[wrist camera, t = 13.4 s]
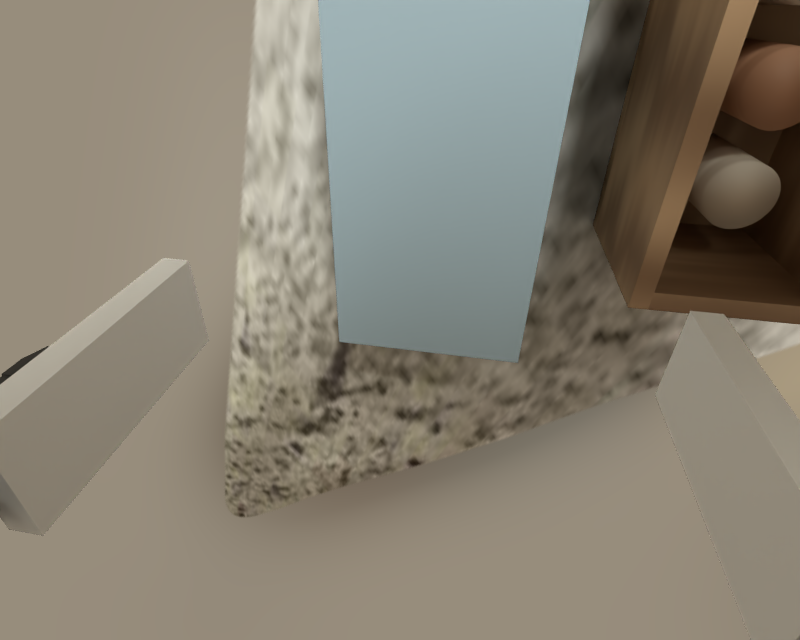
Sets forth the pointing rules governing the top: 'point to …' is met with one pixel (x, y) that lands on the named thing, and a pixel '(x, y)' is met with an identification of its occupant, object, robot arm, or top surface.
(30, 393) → the robot arm
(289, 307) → the top surface
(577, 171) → the top surface
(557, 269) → the top surface
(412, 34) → the light blue block
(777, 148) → the box
